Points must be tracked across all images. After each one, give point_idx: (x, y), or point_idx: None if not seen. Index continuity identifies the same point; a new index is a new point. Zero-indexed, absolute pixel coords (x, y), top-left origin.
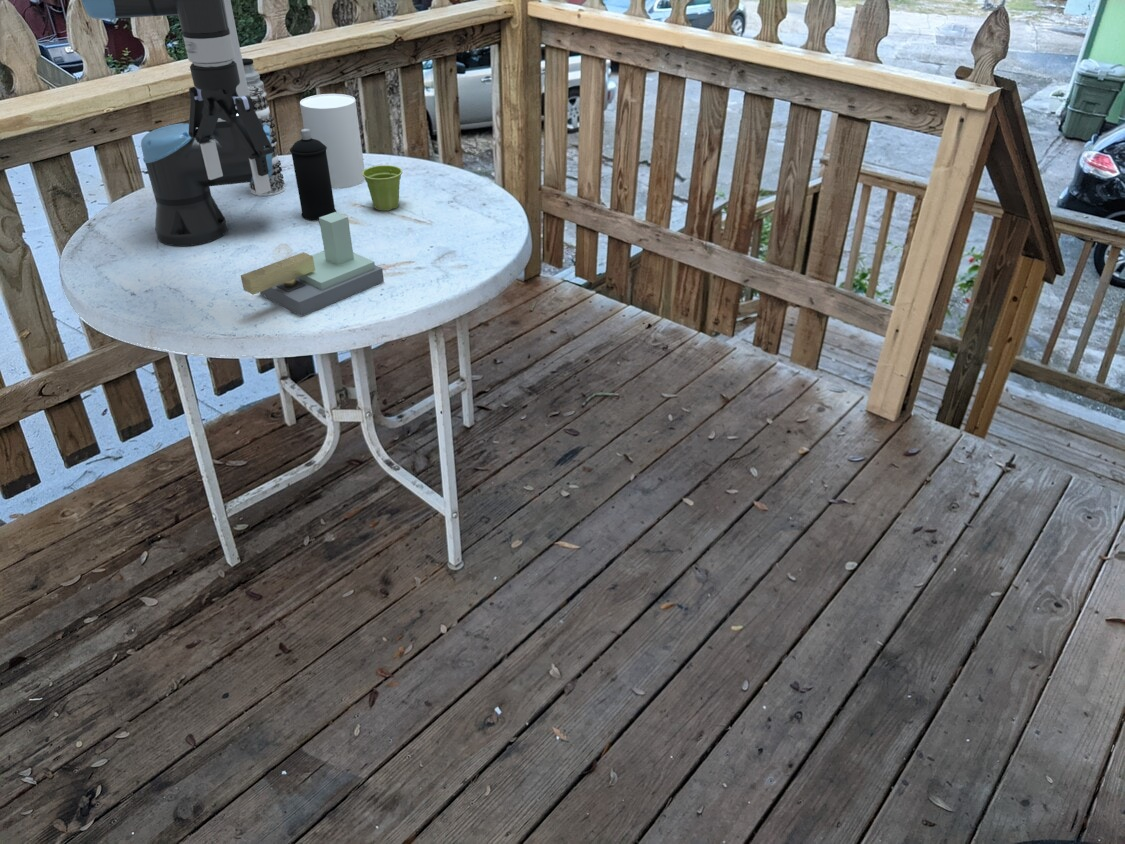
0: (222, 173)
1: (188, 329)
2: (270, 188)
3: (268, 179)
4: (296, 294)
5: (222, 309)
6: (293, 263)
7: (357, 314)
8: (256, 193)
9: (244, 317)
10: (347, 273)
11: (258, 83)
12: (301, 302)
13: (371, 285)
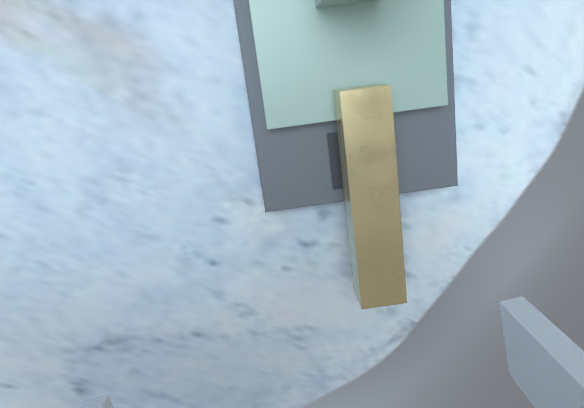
0: (104, 406)
1: (321, 382)
2: (530, 304)
3: (558, 332)
4: (413, 170)
5: (281, 299)
6: (395, 159)
7: (534, 63)
8: (511, 374)
9: (352, 277)
10: (441, 3)
11: None
12: (456, 178)
13: None
